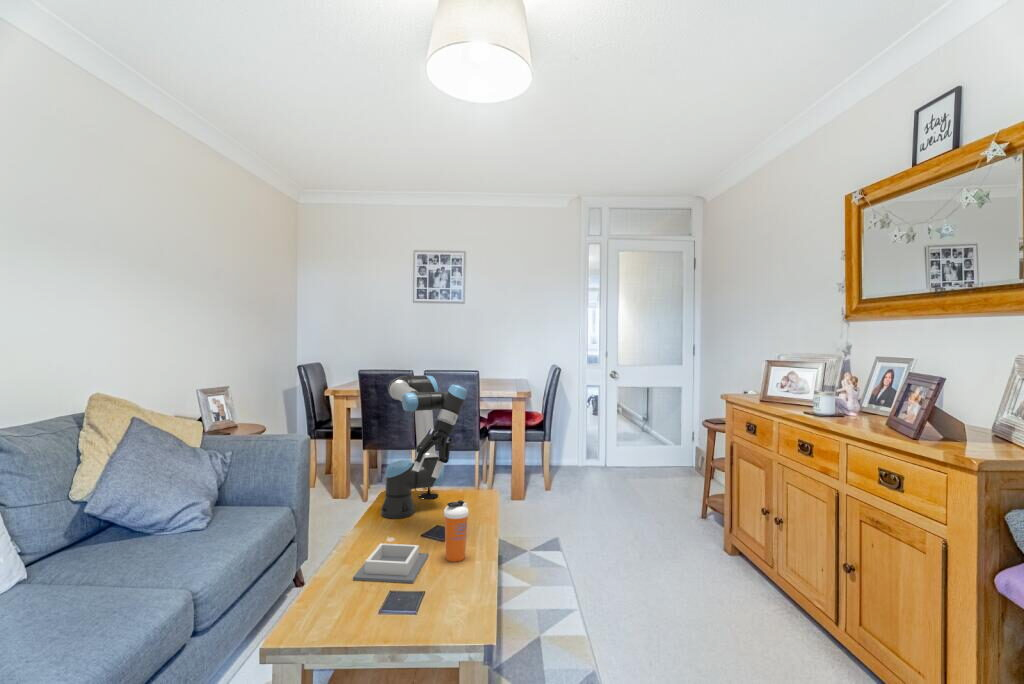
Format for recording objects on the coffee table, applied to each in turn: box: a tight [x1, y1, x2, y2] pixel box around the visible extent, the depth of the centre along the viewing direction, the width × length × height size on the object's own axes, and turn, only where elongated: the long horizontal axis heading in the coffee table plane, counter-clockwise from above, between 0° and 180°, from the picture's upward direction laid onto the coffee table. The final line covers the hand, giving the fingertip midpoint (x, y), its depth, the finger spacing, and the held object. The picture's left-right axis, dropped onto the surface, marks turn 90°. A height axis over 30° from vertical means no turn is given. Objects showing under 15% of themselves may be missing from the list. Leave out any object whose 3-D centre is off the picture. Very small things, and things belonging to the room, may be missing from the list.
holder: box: [352, 543, 429, 584], centre depth 160 cm, size 20×20×5 cm
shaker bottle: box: [443, 499, 469, 563], centre depth 169 cm, size 9×9×20 cm
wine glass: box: [418, 487, 439, 500], centre depth 237 cm, size 10×10×20 cm
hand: (425, 474), depth 178 cm, fingers open, 13 cm apart
